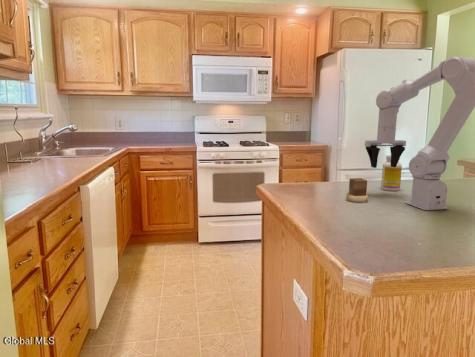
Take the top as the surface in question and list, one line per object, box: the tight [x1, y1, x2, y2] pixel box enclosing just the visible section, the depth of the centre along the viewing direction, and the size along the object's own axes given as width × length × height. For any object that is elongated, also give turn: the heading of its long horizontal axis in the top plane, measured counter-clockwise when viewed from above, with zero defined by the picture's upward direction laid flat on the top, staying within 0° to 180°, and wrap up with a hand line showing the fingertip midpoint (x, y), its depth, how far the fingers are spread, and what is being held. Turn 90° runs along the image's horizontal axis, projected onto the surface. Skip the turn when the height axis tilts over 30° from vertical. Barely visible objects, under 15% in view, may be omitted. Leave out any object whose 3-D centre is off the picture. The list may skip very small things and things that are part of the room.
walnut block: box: [348, 177, 368, 196], centre depth 115 cm, size 4×4×5 cm
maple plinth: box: [345, 192, 369, 204], centre depth 116 cm, size 7×7×2 cm
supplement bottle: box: [380, 154, 403, 192], centre depth 133 cm, size 7×7×13 cm
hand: (383, 167), depth 122 cm, fingers open, 7 cm apart
